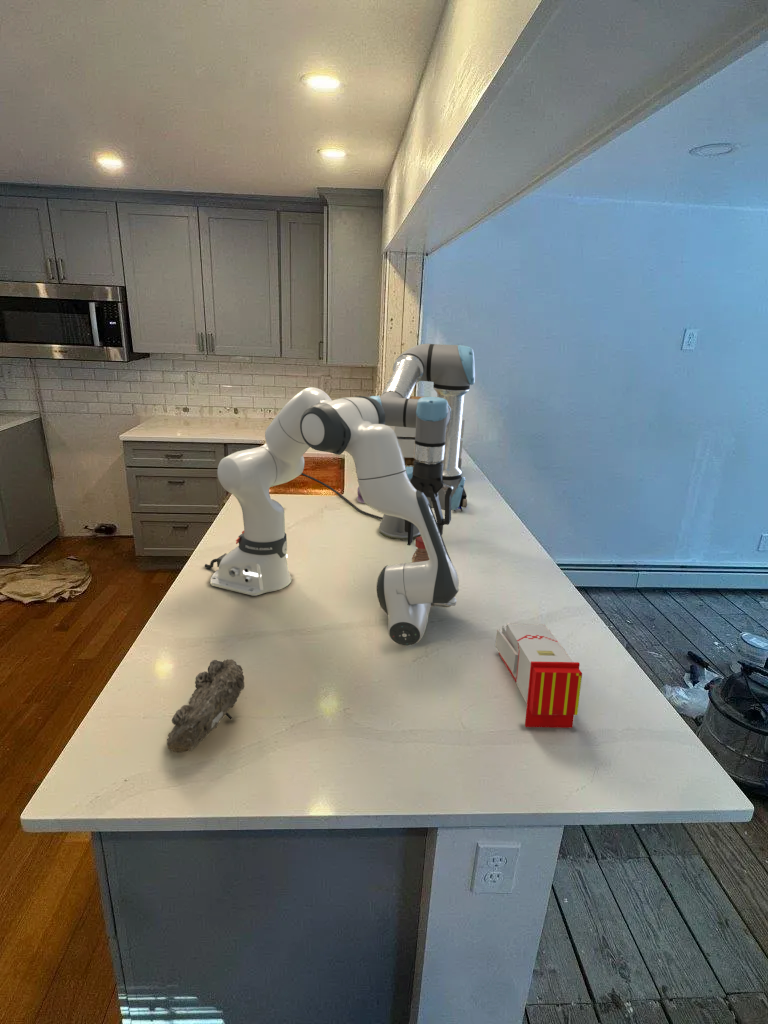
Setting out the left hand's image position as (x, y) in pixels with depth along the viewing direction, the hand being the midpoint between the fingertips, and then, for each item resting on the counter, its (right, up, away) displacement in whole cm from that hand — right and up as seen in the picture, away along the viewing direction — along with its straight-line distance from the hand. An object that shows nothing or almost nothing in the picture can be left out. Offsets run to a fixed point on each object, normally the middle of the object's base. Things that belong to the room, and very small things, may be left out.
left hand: (420, 577), depth 154 cm
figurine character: (+20, +20, +76) cm, 81 cm away
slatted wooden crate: (+7, +37, +121) cm, 127 cm away
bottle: (0, -6, +1) cm, 7 cm away
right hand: (0, +9, -4) cm, 10 cm away
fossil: (-43, -21, -46) cm, 66 cm away
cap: (0, +10, -5) cm, 11 cm away
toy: (+21, -19, -32) cm, 43 cm away
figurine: (-17, +22, +79) cm, 84 cm away
